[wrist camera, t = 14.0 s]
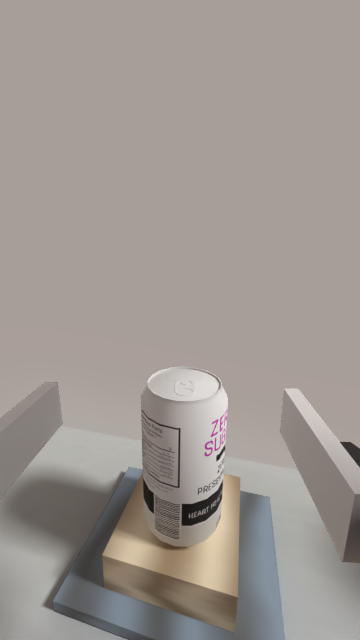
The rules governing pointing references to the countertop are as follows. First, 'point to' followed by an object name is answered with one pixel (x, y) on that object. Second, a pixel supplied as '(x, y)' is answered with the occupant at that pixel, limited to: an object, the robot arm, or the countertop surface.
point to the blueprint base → (165, 623)
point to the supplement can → (183, 454)
